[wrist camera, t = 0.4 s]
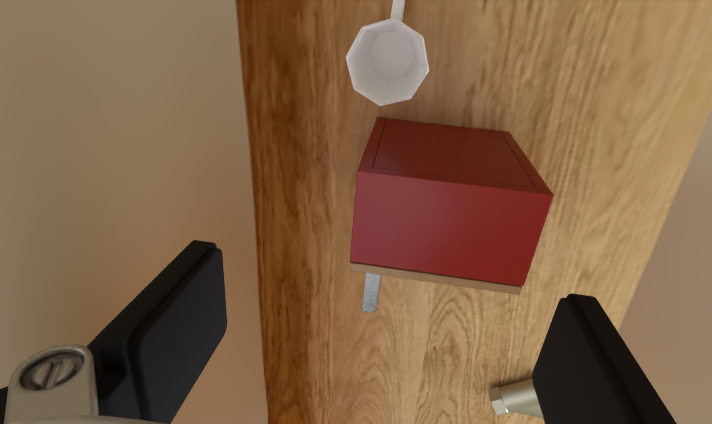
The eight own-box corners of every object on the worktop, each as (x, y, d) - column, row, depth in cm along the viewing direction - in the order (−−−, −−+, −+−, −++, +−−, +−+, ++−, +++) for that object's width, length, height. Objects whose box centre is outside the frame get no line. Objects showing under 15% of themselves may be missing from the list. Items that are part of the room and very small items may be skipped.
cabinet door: (478, 254, 50) (501, 351, 36) (364, 238, 51) (344, 326, 37) (491, 203, 47) (522, 287, 33) (369, 187, 48) (349, 262, 34)
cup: (353, 83, 43) (340, 99, 36) (367, -26, 38) (355, -33, 31) (420, 94, 42) (420, 113, 35) (442, -15, 38) (447, -19, 31)
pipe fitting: (558, 395, 59) (541, 367, 57) (567, 421, 56) (550, 392, 53) (504, 409, 62) (486, 383, 59) (510, 435, 59) (491, 408, 56)
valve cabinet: (491, 200, 47) (523, 286, 33) (369, 185, 48) (349, 261, 34) (509, 131, 43) (554, 195, 29) (376, 117, 44) (357, 170, 30)
